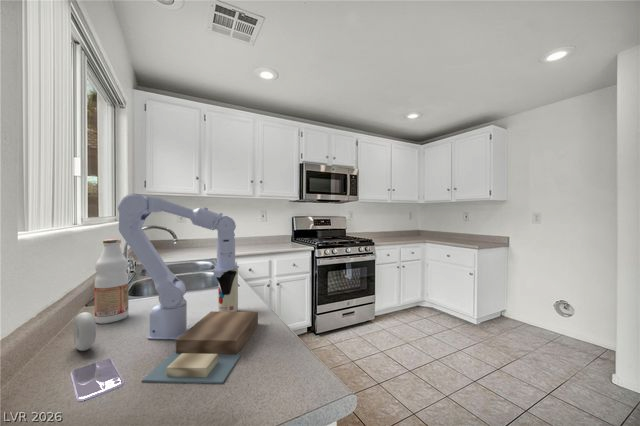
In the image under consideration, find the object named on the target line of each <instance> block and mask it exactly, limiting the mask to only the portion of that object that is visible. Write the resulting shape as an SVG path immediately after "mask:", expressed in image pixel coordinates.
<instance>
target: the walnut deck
mask: <svg viewBox="0 0 640 426" xmlns="http://www.w3.org/2000/svg"><path fill="white" fill-rule="evenodd" d="M258 325H259V312H258V311H238V312H219V311H210V312H209V313H207V314H206V315H205V316H203V317H202V318H201V319H200V320H198V321H197V322H196V323H195V324H194V325H192V326H190V327H191V328H190V329H189V330H187V331H186V332H185V333H184V334H182V335H181V336H180V337H179V338H177V339H175V352H176V354H182V353H196V354H229V355H237V353H241V350H242V349H243V347H244V345H245V344H246V343H247V341H248V340H249V338H250V337H251V336H252V333H253V332H254V330H256V328H257V326H258Z"/></svg>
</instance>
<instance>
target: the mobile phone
mask: <svg viewBox="0 0 640 426" xmlns="http://www.w3.org/2000/svg"><path fill="white" fill-rule="evenodd" d="M69 374H70V379H71V382H72V386H73V390H74V395H75V398H76V402H84V400H85V401H88V400H89V399H93V398H95V397H97V396H100V395H102V394H105V393H107V392H110V391H113V390H115V389H117V388H120V387H122V386H123V385H124V384H125V381H124V380H123V378H122V376H121V374H120V372H119V371H118V369H117V367H116V365H115V364H114V362H113V360H112V359H110V358H107V359H103V360H100V361H99V360H98V361H96V362H94V363H90V364H87V365H85V366H82V367H77V368H75V369H73V370H72V371H71V372H70V373H69Z"/></svg>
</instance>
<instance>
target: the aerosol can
mask: <svg viewBox="0 0 640 426" xmlns="http://www.w3.org/2000/svg"><path fill="white" fill-rule="evenodd" d="M238 270H239V268H238V269H233V270H232V271H237V274H236V275H235V278H234V280H233V284H232V288H231V293H230V294H229V295H223V294H222V291H221V287H220V284H219V282H218V283H217V284H218V290H217V291H218V293H217V294H218V312H239V291H238V290H239V286H238V285H239V280H238V279H239V277H238V276H239V275H238V272H239V271H238Z"/></svg>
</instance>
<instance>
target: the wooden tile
mask: <svg viewBox="0 0 640 426" xmlns="http://www.w3.org/2000/svg"><path fill="white" fill-rule="evenodd" d="M217 363H218V354H196V353H182V354H181V355H180V356H179V357H177V358H176V359H175V360H174V361H173V362H172V363H171V364H170V365H169V366H168V367H167V376H171V377H207V376H208V374H209V373H210V372H211V370H212V369H213V368H214V366H215V365H216V364H217Z"/></svg>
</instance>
